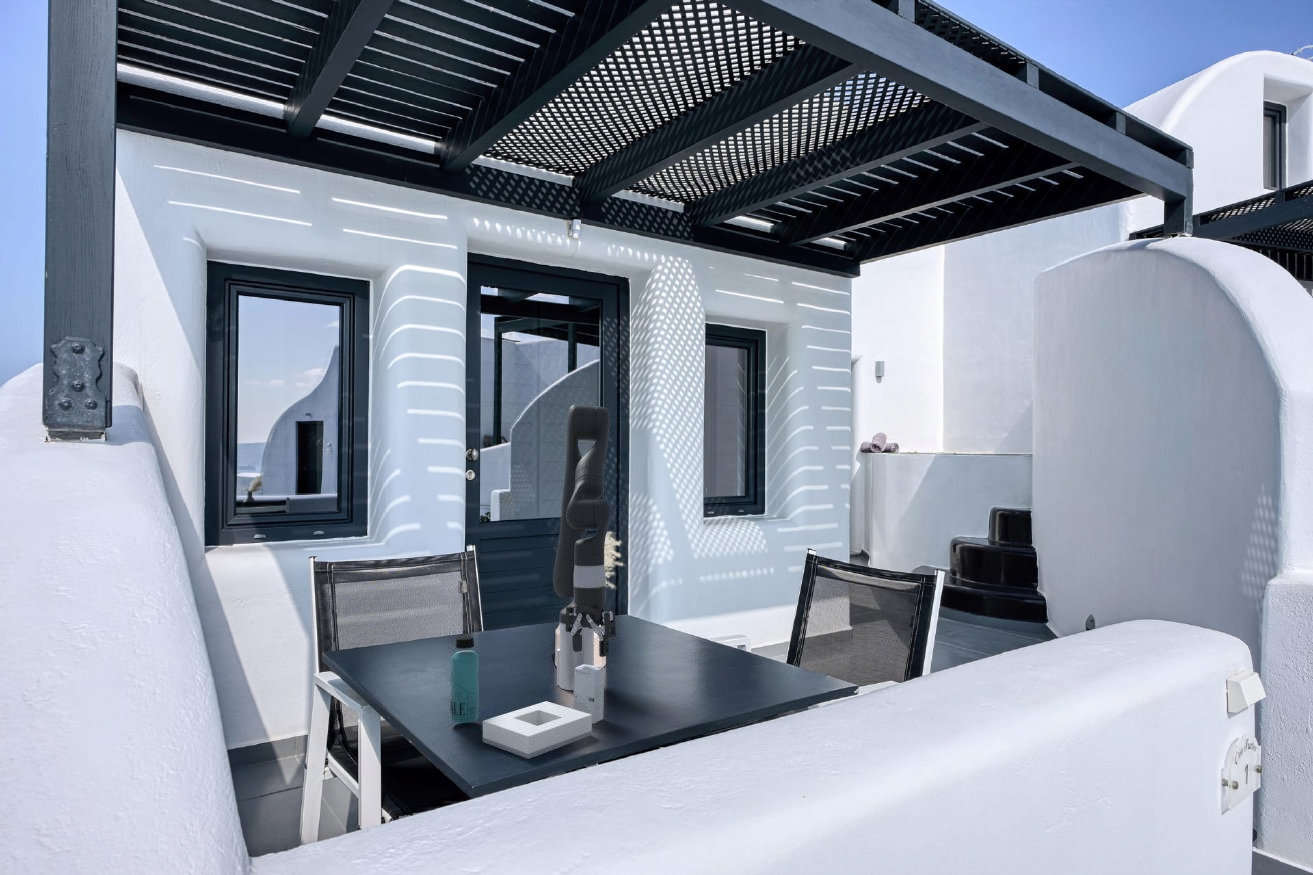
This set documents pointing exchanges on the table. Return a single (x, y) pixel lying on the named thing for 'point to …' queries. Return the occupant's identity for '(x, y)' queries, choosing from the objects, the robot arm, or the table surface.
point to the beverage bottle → (464, 682)
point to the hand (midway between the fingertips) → (590, 653)
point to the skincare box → (589, 690)
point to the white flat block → (537, 729)
